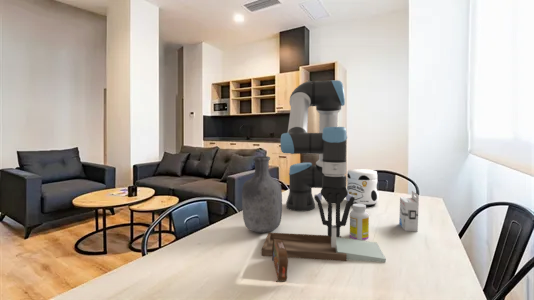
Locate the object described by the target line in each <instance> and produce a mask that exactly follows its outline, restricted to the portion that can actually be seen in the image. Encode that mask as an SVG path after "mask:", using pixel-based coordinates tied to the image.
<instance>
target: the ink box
mask: <svg viewBox="0 0 534 300" xmlns="http://www.w3.org/2000/svg"><path fill="white" fill-rule="evenodd" d="M419 197H420V196H419V194H418V193H417V192H415V191H413V190H411V197H405V196H404V197H403V196H402V197H399V222H398V224H399V225H400V227H402V229H403V231H404V232H405V231H406V232H418V231H419V230H418V229H419V201H420V199H419Z"/></svg>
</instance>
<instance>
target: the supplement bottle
mask: <svg viewBox="0 0 534 300" xmlns="http://www.w3.org/2000/svg"><path fill="white" fill-rule="evenodd" d="M351 207H352V210H350V211H349V238H350V239H354V240H361V241H366V240H367V241H368V239H369V236H370V235H369V234H370V233H369V232H370V231H369V230H370V227H369V226H370V225H369V224H370V223H369V221H370V220H369V219H370V218H369V217H370V215H369V213H368V212H367V211H366V209H367V206H366V205H364V204H352V206H351Z"/></svg>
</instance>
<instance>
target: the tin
mask: <svg viewBox="0 0 534 300" xmlns="http://www.w3.org/2000/svg"><path fill="white" fill-rule="evenodd" d="M271 260H272V262H273V264H274V269H275V273H276V277H277V279H276V281H275V282H277V283H278V282H286V281H287V279H288V268H289V258H288V256H287V251H286V248H285V245H284V243H283V241H282V240H278V239H274V240H273V245H272V256H271Z"/></svg>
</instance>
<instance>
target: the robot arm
mask: <svg viewBox="0 0 534 300" xmlns="http://www.w3.org/2000/svg"><path fill="white" fill-rule="evenodd" d="M344 89H345V88H344V85H343V82H342V81H341V80H336V79H335V80H333V79H331V80H330V79H329V80H310V81H309V80H308V81H306V82H303V83H301V84H299V85H298V86H297V87H295V88H294V90H292V92H291V94H290V97H289V100H288V101H289V106H290V111H289V120H288V127H287V132H284V133H282V134H281V136H280V150H281V152H282V153H283V154H290V155H301V154H304V155H305V154H306V155H307V154H308V155H309V154H311V155H313V154H314V155H315V154H316V155H318V160H317V161H316V162H315V165H313V163H312V162H299V163H298V162H297V163H294V164H292V165H290V166H289V170H288V171H289V173H288V175H289V179H288V181H289V192H288V196H287V199H286V203H285V206H286V208H287V210H288V209H289V210H290V209H291V210H290V211H298V212H306V211H307V212H308V211H312V210H314V209H316V203H317V206H318V207H317V208H318V211H319V215H320V219H321V224H322V225H323V226H327V235H328V236H331V247H334V248H336V237H339V236H341V227H345V226H346V225H347V222H348V218H349V216H350V212H351V207H352V205H353V204H352V203H353V201H354V200H355V198H354V197H353V196H351V195H349V194H348V192H347V190H346V189H347V176H346V175H347V143H348V142H347V140H348V134H347V128H346V127H345V126H338V121H339V120H338V116H339V113H340V111H342V107H344V106H345V104H346V98H345V90H344ZM309 107H316V108H315V110H316V111H317V113H318V116H319V121H318V123H319V124H318V125H319V126H318V127H319V130H318V132H308V131H309V130H308V124H309V123H308V121H309ZM312 189H321V190H320V192H319V193H317V194H314V195H313V193H312ZM313 196H314V197H313ZM346 197H347V198H346ZM322 199H324V200H325V201H326V202H327V220H326V216H325V212H324V208H323V204H322ZM344 200H346V203H345V207H344V209H343V214H342V218H341V203H342V202H343V201H344ZM315 202H316V203H315ZM333 204H335V224H333Z"/></svg>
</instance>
